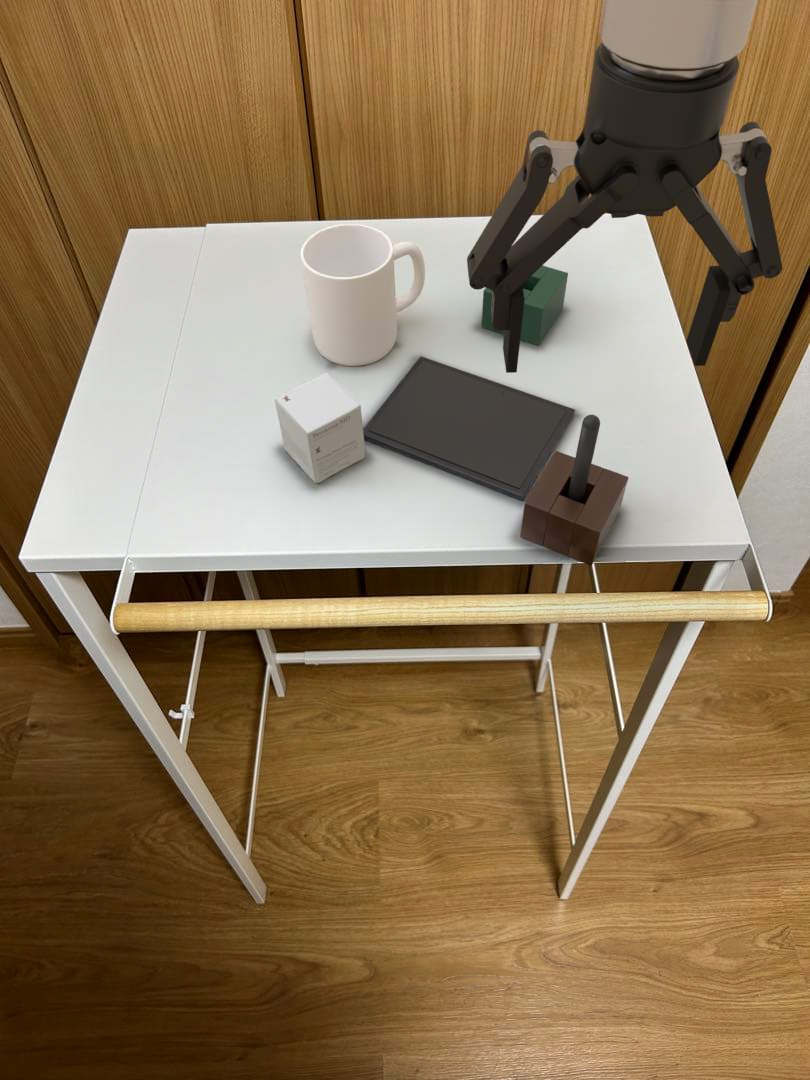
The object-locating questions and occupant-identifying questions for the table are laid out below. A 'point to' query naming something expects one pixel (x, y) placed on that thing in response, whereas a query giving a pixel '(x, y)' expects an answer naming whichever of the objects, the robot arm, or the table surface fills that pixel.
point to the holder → (572, 509)
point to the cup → (356, 291)
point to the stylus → (584, 457)
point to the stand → (535, 304)
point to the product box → (321, 427)
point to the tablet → (469, 426)
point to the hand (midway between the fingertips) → (602, 357)
